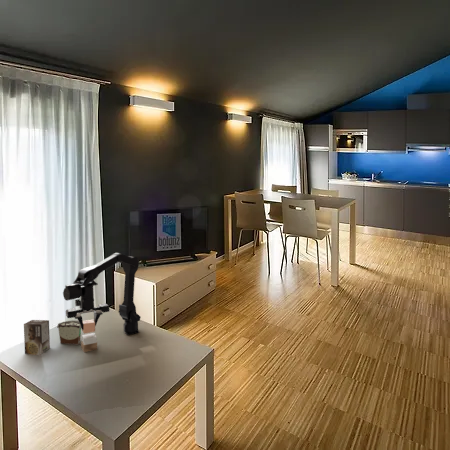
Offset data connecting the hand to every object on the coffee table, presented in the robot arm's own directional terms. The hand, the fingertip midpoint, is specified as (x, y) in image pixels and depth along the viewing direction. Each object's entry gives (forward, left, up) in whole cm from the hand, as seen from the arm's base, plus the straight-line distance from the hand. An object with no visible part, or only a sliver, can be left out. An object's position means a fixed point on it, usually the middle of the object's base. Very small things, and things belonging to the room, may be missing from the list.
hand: (88, 328), depth 176 cm
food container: (+5, -13, -10) cm, 17 cm away
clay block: (0, 0, -1) cm, 1 cm away
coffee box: (+21, -11, -13) cm, 27 cm away
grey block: (0, 0, -7) cm, 7 cm away
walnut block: (0, 0, -10) cm, 10 cm away
